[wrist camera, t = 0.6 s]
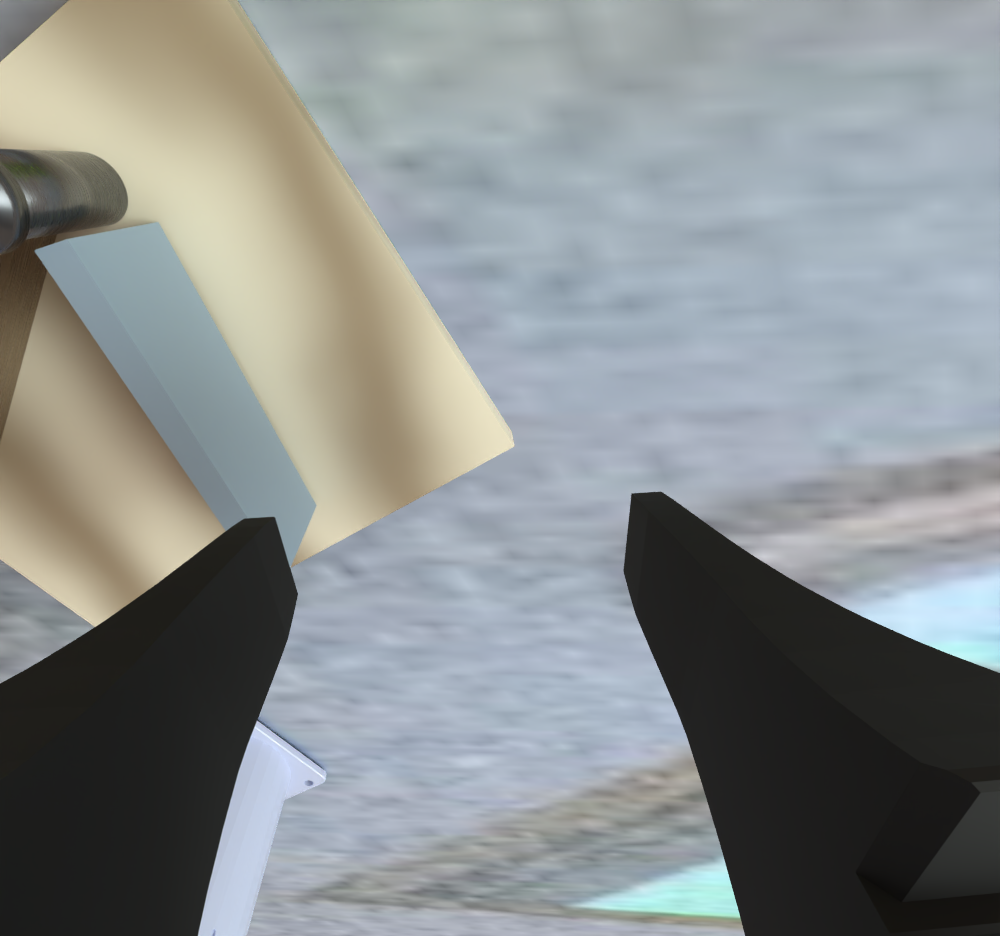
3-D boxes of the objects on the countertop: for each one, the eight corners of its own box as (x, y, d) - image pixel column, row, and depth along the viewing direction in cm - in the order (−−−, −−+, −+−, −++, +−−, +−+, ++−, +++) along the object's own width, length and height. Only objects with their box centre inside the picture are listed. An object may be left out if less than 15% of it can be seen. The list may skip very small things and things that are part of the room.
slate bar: (132, 230, 15) (33, 250, 12) (158, 221, 15) (66, 238, 11) (296, 511, 20) (262, 584, 16) (316, 505, 20) (286, 578, 16)
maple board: (146, 632, 24) (131, 653, 23) (-260, 329, 17) (-308, 339, 16) (511, 432, 20) (514, 446, 19) (192, -71, 13) (169, -91, 12)
